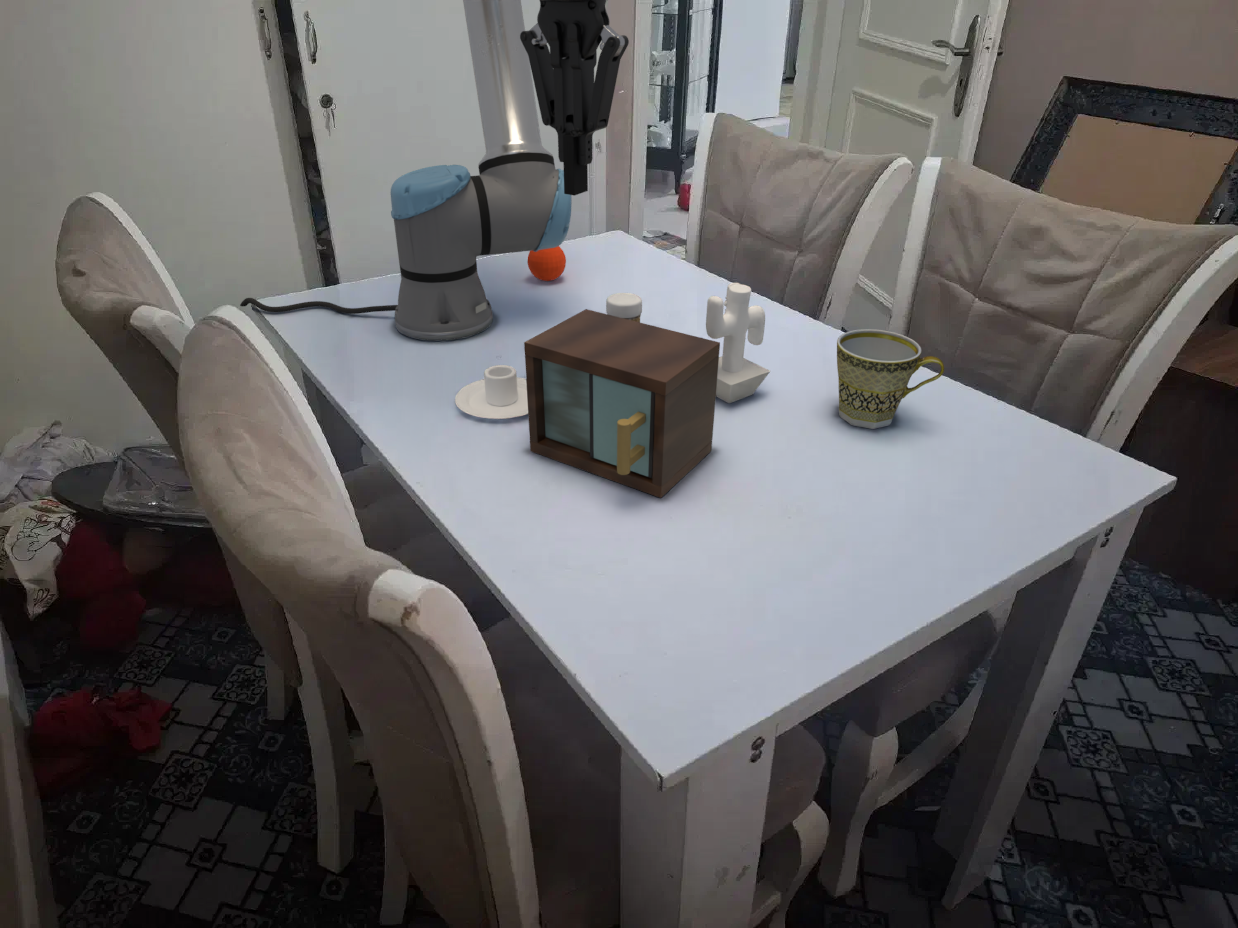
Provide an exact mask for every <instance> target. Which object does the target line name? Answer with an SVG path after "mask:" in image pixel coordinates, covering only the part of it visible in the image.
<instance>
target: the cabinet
mask: <svg viewBox="0 0 1238 928" xmlns="http://www.w3.org/2000/svg"><path fill="white" fill-rule="evenodd" d="M523 347H524V348H523V349H524V362H525V363H524V364H525V366H524V367H525V379H526V383H527V401H528V414H527V415H528V416H527V417H528V430H529V431H528V433H529V435H528V436H529V448H530V452H531V453H533V454H534V453H535V454H537V455H539V456H543V457H545V458H548V459H550V460H554V461H557V462H559V463H563V464H565V465H568V466H571V467H574V468H576V469H579V470H580V471H581V470H582V471H584V472H587V473H590V474H593V475H595V476H598V477H601V478H604V479H607V480H610V481H612V482H615V483H618V484H620V485H623V486H626V487H629V488H630V489H631V488H632V489H635V490H637V491H639V492H643V493H644V494H645V493H646V494H648V495H650V496H654V497H656V498H659V499H661V498H663V497H664V496H665V495H666V494H667V493H668V492H669V491H670V490H672V489H673V488H674V487H675V486H676V485H677V484H678V483H679V482H680V481H681V480H682V479H683V478H684V477H686V476H687V474H689V473H690V472H691V471H692V470H693V469H694V468H695V467H696V466H697V465H698V464H699V463H700V462H701V461H703V460H704V459H705V458H706V457H707V456H708V455H709V454H710V453H711V452H712V450H713V449H712V448H713V435H714V426H715V425H714V422H715V412H716V411H715V410H716V398H717V397H716V387H717V374H718V362H719V357H720V349H721V342H720V341H715V340H713V339H708V338H705V337H700V336H695V335H692V334H687V333H684V332H679V331H676V330H671V329H667V328H663V327H660V326H656V325H651V324H647V323H645V322H641V321H640V322H636V321H632V320H628V319H624V318H620V317H616V316H612V315H608V314H607V313H603V312H600V311H596V310H591V309H587V308H585V309H584V310H582V311H580V312H578V313H575V314H574V315H572V316H570V317H568V318H567V319H565V320H563V321H561V322H559V323H558V324H556V325H553V326H552V327H550V328H548V329H546V330H544V331H543V332H540V333H539V334H537V335H534V336H533V337H531V338H529V339H527V340H526V341H524V342H523ZM589 374H593V375H596V376H600V377H603V378H607V379H610V380H614V381H617V382H620V383H624V384H627V385H631V386H634V387H637V388H641V389H644V390H648V391H651V392H655V420H654V448H653V476H652V478H649V477H647V476H644V475H641V474H639V473H636V472H633V471H630V473H629V474H627V475H620V474H618V473H617V466H616V465H613V464H610V463H607V462H604V461H601V460H598V459H596V458H592V457H590V413H589Z"/></svg>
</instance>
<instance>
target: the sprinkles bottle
mask: <svg viewBox="0 0 1238 928" xmlns="http://www.w3.org/2000/svg"><path fill="white" fill-rule="evenodd" d="M605 302H606V303H605V313H606V314H608V315H612V316H616V317H620V318H624V319H628V320H632V321H636V322H640V323H641V316H642V313H643V299H642V297H641V296H640V295H638V294H635V293H630V292H618V293H613V294H611V295H609V296H607V298H606V300H605Z"/></svg>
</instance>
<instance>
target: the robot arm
mask: <svg viewBox="0 0 1238 928" xmlns="http://www.w3.org/2000/svg"><path fill="white" fill-rule="evenodd" d="M462 3H463V10H464V17H465V23H466V30H467V35H468V36H467V37H468V43H469V49H470V56H471V61H472V69H473V75H474V82H475V89H476V96H477V101H478V108H479V115H480V121H481V128H482V134H483V140H484V146H485V154H484V156H483V157H482V158H481V160H480V161H479V162H478V164H477V165H478V166H477V167H478V175H471V173H470V171H469V169H468V168H467V167H466V166H464V165H462V164H449V165H447V164H439V165H432V166H427V167H423V168H419V169H415V170H412V171H409V172H407V173H405V174H403V175H401V176H399V177H397V178H396V180H394V181H393V183H392V184H391V188H390V203H391V210H390V215H391V218H392V219H393V225H394V232H395V240H396V248H397V249H396V250H397V256H398V263H399V271H400V272H399V273H400V282H399V283H400V284H399V290H398V298H397V304H387V305H371V306H363V307H343V306H340V305H337V304H335V303H332V302H329V301H323V300H322V301H321V300H313V301H304V302H299V303H294V304H289V305H281V306H270V305H266V304H264V303H262V302H260V301H259V300H257V299H255V298H253V297H245V298H244V299H243V300H242V301H241V303H240V304H239V306H240V307H247V306H248V305H249V304H251V305H253V306H254V307H256V308H258V309H259V310H262V311H264V312H267V313H285V312H290V311H296V310H302V309H307V308H325V309H326V308H327V309H330V310H333V311H335V312H338V313H341V314H345V315H346V314H348V315H358V314H359V315H360V314H367V313H377V312H379V313H380V312H394V321H395V328H396V329H397V331H398V332H399V333H400V334H401V335H403V336H405V337H408V338H411V339H416V340H421V341H431V342H439V341H440V342H443V341H444V342H445V341H455V340H460V339H465V338H469V337H472V336H475V335H477V334H480V333H482V332H484V331H485V330H487V329H488V328H489V327H491V326H492V324H493V322H494V315H493V309H492V304H491V302H490V300H488V299H487V295H486V291H485V289H484V286H483V283H482V281H481V278H480V277H479V272H478V263H477V257H480V256H490V255H501V254H510V253H521V252H530V251H534V252H537V251H538V250H542V249H549V248H555V247H558V246H559V247H560V246H561V245H562V244H563V243H564V242H565V240H566V238H567V236H568V233H569V230H570V225H571V218H572V203H573V202H572V196H578V195H580V194H583V193H586V192H588V190H589V186H588V185H589V184H588V183H589V182H588V181H589V179H588V178H589V175H588V165H590V164H592V162H593V135H594V133H596V132H598V131H600V130H603V129H606V128H607V127H608V125H609V121H610V115H611V110H612V106H613V105H612V104H613V101H614V100H613V99H614V96H615V95H614V94H615V89H616V86H617V85H616V84H617V79H618V74H619V69H620V63H621V59H622V58H623V56H624V54H625V52H626V50H627V48H628V46H629V44H630V41H629V40H630V39H629V37H628V36H627V35H625V34H623V35H620V34H618V33H617V31H615V30H614V29H613V28H612V26H610V17H609V14H608V12H607V8H606V4H607V0H539V11H538V13H537V17H536V21H537V23H535V25H533V27H531V28H530V29H529V30H526V27H525V19H524V14H523V5H522V0H462ZM598 48H599V49H600V50H601V51H600V54H599V56H598V59H597V53H598V52H597V50H598ZM595 67H596V72H595ZM535 93H536V96H535ZM536 98H537V102H536ZM537 103H538V107H539V113H540V116H541V117H540V118H541V121H542V124H543V125H544V126H545V127H548V126H549V127H550V128H552V129H554V130H555V132H556V134H557V151H558V154H557V155H558V156H557V157H558V161H559V162H560V163H563V169H561V168H556V165H555V159H554V155H553V154H552V153H551V152H550V151H549V150H547V149H546V148H545V147H544V146H543V144H542V143H543V142H542V135H541V129H540V124H539V116H538V109H537Z"/></svg>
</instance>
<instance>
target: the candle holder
mask: <svg viewBox="0 0 1238 928" xmlns="http://www.w3.org/2000/svg"><path fill="white" fill-rule="evenodd" d="M454 403H455V405H456V407H457V408H458V409H459V410H460V411H462V412H463V413H465V414H468V415H470V416H473V417H477V418H482V419H493V420H494V419H495V420H505V419H506V420H507V419H512V418H518V417H522V416H526V415H528V401H527V383H526V378H523V377H518V376H517V369H516V368H515V367H513V366H510V365H507V364H497V365H492V366H489V367H487V368H486V369H485V370H484V372H483V379H479V380H476V381H473V382H470V383H468V384H467V385H465V386H463V387H462V388H460V389H459V391H457V392H456V395H455V397H454Z"/></svg>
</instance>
